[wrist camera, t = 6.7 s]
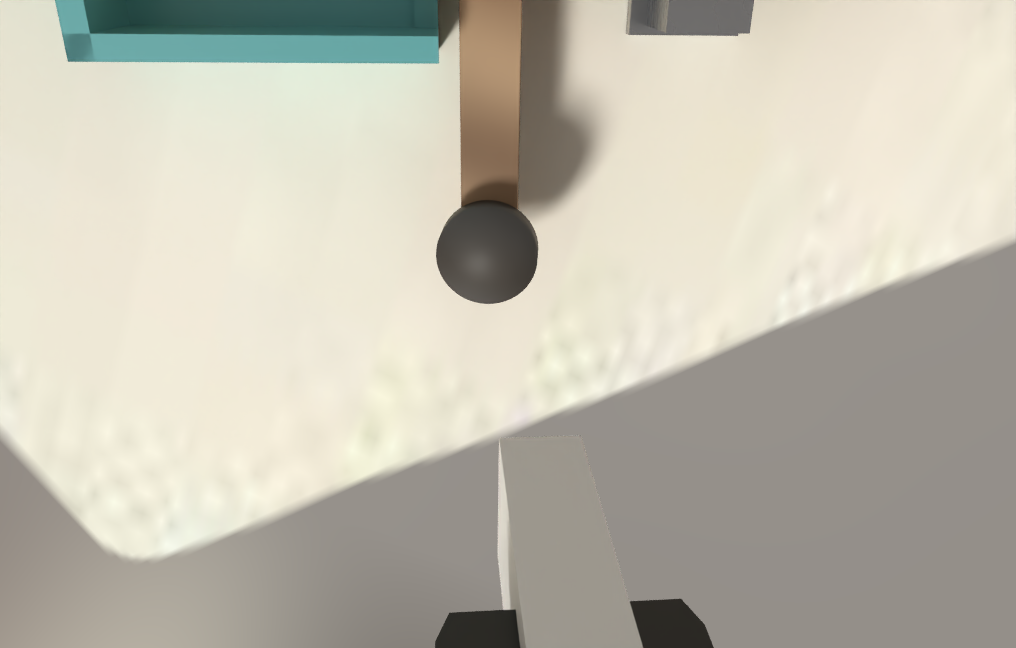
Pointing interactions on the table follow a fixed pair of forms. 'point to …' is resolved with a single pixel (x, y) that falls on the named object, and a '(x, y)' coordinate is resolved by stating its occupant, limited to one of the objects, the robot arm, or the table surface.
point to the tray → (250, 31)
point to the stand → (689, 17)
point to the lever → (489, 161)
